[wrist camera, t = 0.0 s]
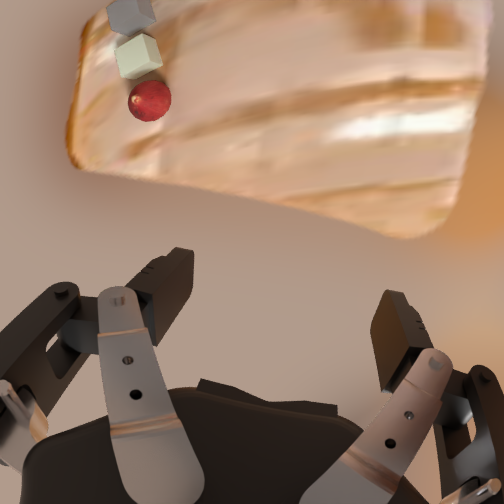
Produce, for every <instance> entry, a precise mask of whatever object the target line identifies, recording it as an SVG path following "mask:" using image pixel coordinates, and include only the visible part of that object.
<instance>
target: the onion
mask: <svg viewBox="0 0 504 504" xmlns="http://www.w3.org/2000/svg"><path fill="white" fill-rule="evenodd" d="M170 105H171V93H170V90H169V88H168V87H167V86H166V85H165V84H164V83H161V82H159V81H156V80H152V81H144V82H142V83H140V84H138V85H137V86H136V87H135V88H134V89H133V90H132V91H131V93H130V95H129V98H128V106H129V110H130V112H131V113H132V114H133V115H134V117H135V118H137V119H140V120H142V121H145V122H147V121H155V120H157V119H159V118H160V117H162V116H164V114H165V113H166V112H167V111H168V110H169V107H170Z"/></svg>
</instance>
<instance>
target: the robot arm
mask: <svg viewBox="0 0 504 504" xmlns="http://www.w3.org/2000/svg"><path fill="white" fill-rule="evenodd" d="M193 274H194V252H193V250H188V249H183V248H178V247H175V248H174V249H173V250H172V251H171V252H170V253H169V254H168V255H167V256H160V257H158V258H155V259H153V260H152V261H150V262H149V263H148V264H147V265H146V267H144V268H143V269H142V270H141V272H139V273H138V274H137V275H136V276H135V277H134V278H133V279H132V280H131V281H130V282H129V283H127V284H126V286H124V287H123V286H115V287H110V288H108V289H105V290H104V291H102V292H101V293H100V294H99V296H98V297H85V296H80V292H79V288H78V286H77V285H76V284H74V283H71V282H60V283H56V284H54V285H52V286H51V287H49V288H47V289H46V290H45V291H44V292H43V293H42V294H41V295H40V296H38V298H36V299H35V300H34V301H33V302H32V303H31V304H30V305H29V306H27V307H26V308H25V309H24V310H23V311H22V312H21V313H20V314H19V315H18V316H17V317H16V318H14V319H13V321H11V323H9V324H8V325H7V326H6V327H5V328H4V329H3V330H2V331H1V332H0V464H2V465H4V466H10V467H12V468H13V469H14V470H15V471H17V472H18V473H19V474H21V475H22V491H21V498H20V504H429V503H428V502H427V501H426V500H425V499H424V498H423V496H422V495H421V494H420V493H419V492H418V491H417V490H416V489H415V488H414V486H413V485H412V484H411V483H410V482H409V481H408V480H407V479H406V477H405V476H404V473H405V472H406V470H407V468H408V467H409V465H410V464H411V462H412V460H413V459H414V457H415V455H416V454H417V452H418V450H419V449H420V447H421V445H422V443H423V441H424V440H425V438H426V436H427V434H428V432H429V430H430V428H431V426H432V425H433V428H434V434H435V440H436V447H437V454H438V462H439V471H440V481H441V494H442V500H441V502H440V503H439V504H504V394H503V392H502V390H501V387H500V385H499V382H498V380H497V378H496V376H495V374H494V373H493V372H492V371H491V370H490V369H489V368H487V367H485V366H483V365H475V366H473V367H472V368H471V370H470V371H469V373H468V374H466V373H463V372H460V371H457V370H454V369H453V364H452V361H451V360H450V358H449V357H448V356H447V355H446V354H445V353H443V352H442V351H440V350H437V349H434V347H433V344H432V342H431V340H430V337H429V335H428V333H427V331H426V330H425V326H424V324H423V323H422V322H423V321H422V319H421V317H420V315H419V313H418V312H417V311H416V310H415V309H414V308H413V307H412V306H410V305H409V304H408V302H407V300H406V297H405V295H404V293H402V292H397V291H392V290H385V292H384V293H383V295H382V298H381V300H380V303H379V306H378V308H377V310H376V313H375V315H374V317H373V320H372V323H371V329H370V334H371V339H372V344H373V349H374V354H375V359H376V364H377V369H378V375H379V381H380V387H381V392H383V393H392V396H391V397H390V399H389V400H388V401H387V403H386V404H385V405H384V407H383V408H382V409H381V411H380V412H379V413H378V414H377V416H376V417H375V418H374V419H373V421H372V422H371V423H370V424H369V426H368V427H367V428H366V429H365V431H364V430H363V429H362V428H360V427H359V426H357V425H356V424H355V423H353V422H352V421H350V420H348V419H346V418H343V417H341V416H338V415H337V414H338V412H337V405H333V404H324V403H317V402H310V401H284V402H268V401H265V400H263V399H260V398H258V397H256V396H253V395H251V394H249V393H246V392H244V391H242V390H240V389H238V388H236V387H233V386H229V385H224V384H220V383H216V382H213V381H209V380H205V379H200V382H199V384H198V386H197V387H182V388H175V389H170V390H167V388H166V385H165V382H164V380H163V377H162V374H161V371H160V368H159V364H158V361H157V358H156V355H155V352H154V349H153V346H156V347H157V346H158V344H159V342H160V341H161V340H162V338H163V336H164V335H165V333H166V332H167V330H168V329H169V327H170V326H171V324H172V322H173V321H174V320H175V318H176V317H177V315H178V313H179V312H180V311H181V309H182V308H183V306H184V305H185V303H186V301H187V300H188V299H189V297H190V295H191V292H192V288H193ZM55 334H57V337H58V339H57V340H56V342H55V343H54V344H53V345H52V346H51V347H50V349H49V350H48V351H47V352H46V346H47V344H48V342H49V341H50V340H51V338H52V337H53V336H54V335H55ZM90 354H97V355H99V358H100V366H101V374H102V382H103V388H104V394H105V401H106V406H107V412H108V415H106V416H104V417H102V418H99V419H96V420H94V421H91V422H88V423H86V424H83V425H80V426H78V427H75V428H72V429H70V430H67V431H64V432H61V433H58V434H55V435H52V436H49V437H47V436H46V434H47V431H48V421H47V416H48V415H49V413H50V411H51V410H52V409H53V407H54V406H55V404H56V403H57V401H58V400H59V398H60V397H61V395H62V394H63V392H64V391H65V389H66V388H67V387H68V385H69V384H70V382H71V381H72V379H73V378H74V376H75V375H76V374H77V372H78V371H79V369H80V368H81V367H82V365H83V364H84V362H85V361H86V360H87V358H88V357H89V356H90ZM472 417H473V418H474V422H475V426H476V435H475V438H474V440H473V441H472V442H471V439H470V435H469V431H468V427H467V422H468V421H469V420H470V419H471V418H472Z"/></svg>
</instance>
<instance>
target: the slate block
mask: <svg viewBox="0 0 504 504" xmlns="http://www.w3.org/2000/svg"><path fill="white" fill-rule="evenodd" d="M106 9H107V13H108V18H109V22H110V26H111V30H112V31H115V32H118V33H121V34H124V35H126V36H131V35H133V34H135V33H136V32H138V31H140V30H142V29H143V28H145V27H147V26H149V25H151V24H152V23H154V22H156V19H155V16H154V12H153V9H152V6H151V2H150V0H117V1H115V2H114V3H112V4H111V5H109V6H108V7H106Z"/></svg>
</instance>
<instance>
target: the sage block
mask: <svg viewBox="0 0 504 504" xmlns="http://www.w3.org/2000/svg"><path fill="white" fill-rule="evenodd" d="M114 52H115V56H116V59H117V63H118V67H119V71H120V74H121V77H123V78H129V79H135V80H136V79H137V78H139V77H141V76H143V75H145V74H147V73H149V72H151V71H152V70H154V69H156V68H158V67H160V66H162V65H163V63H162V60H161V57H160V53H159V50H158V47H157V44H156V40H155V39H154V38H152V37H150V36H147V35H145V34H143V33H142V34H140V35H138V36H136V37H135V38H133V39H131V40H130V41H128V42H126V43H125V44H123V45H121V46H120V47H118V48H117V49H115V50H114Z"/></svg>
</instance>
